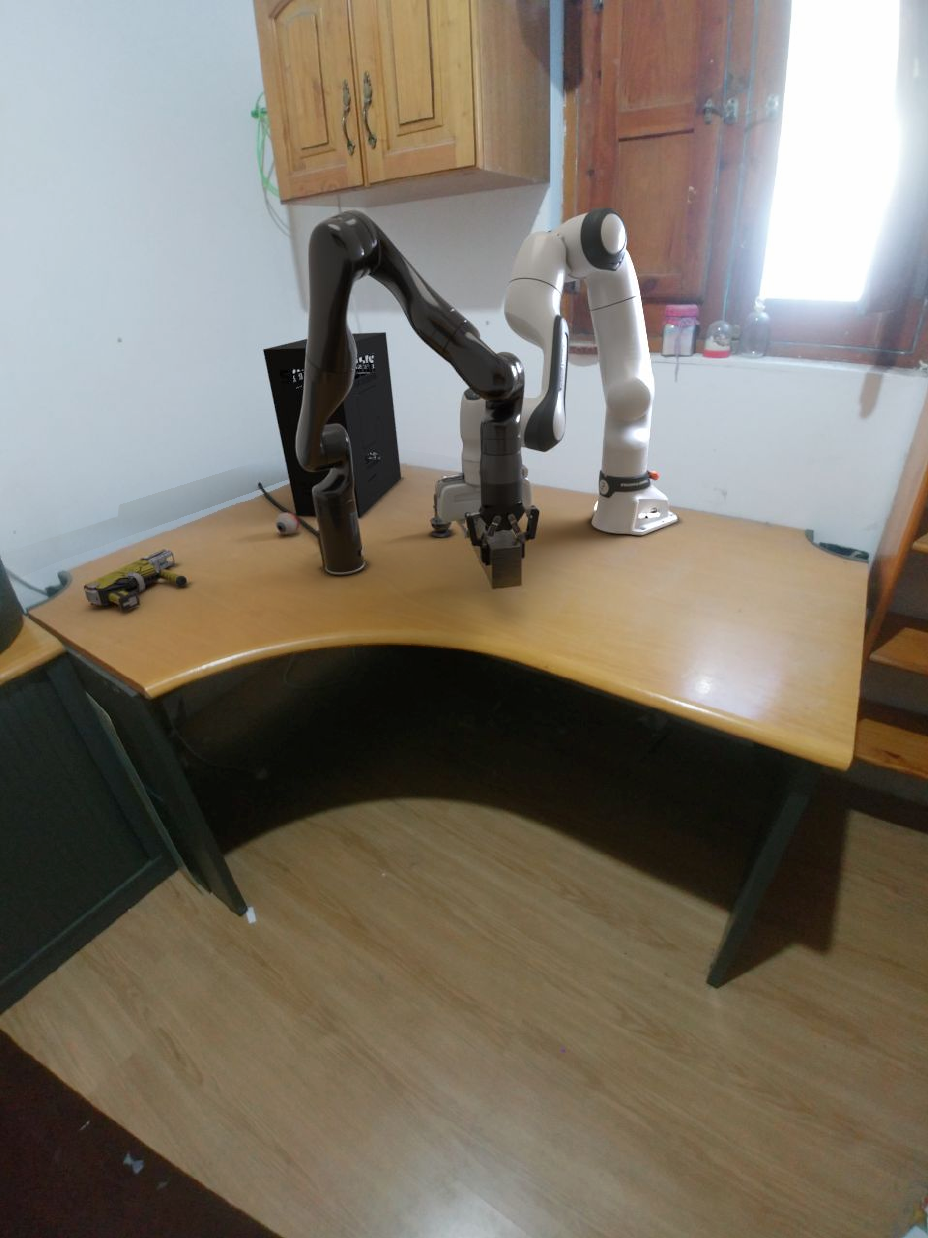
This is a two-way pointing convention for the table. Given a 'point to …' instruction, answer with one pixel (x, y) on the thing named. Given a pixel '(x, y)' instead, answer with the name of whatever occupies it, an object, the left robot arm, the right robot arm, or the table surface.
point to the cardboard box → (341, 420)
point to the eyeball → (287, 523)
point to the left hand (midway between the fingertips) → (502, 561)
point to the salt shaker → (439, 523)
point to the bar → (501, 558)
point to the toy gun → (132, 581)
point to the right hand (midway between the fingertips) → (485, 534)
